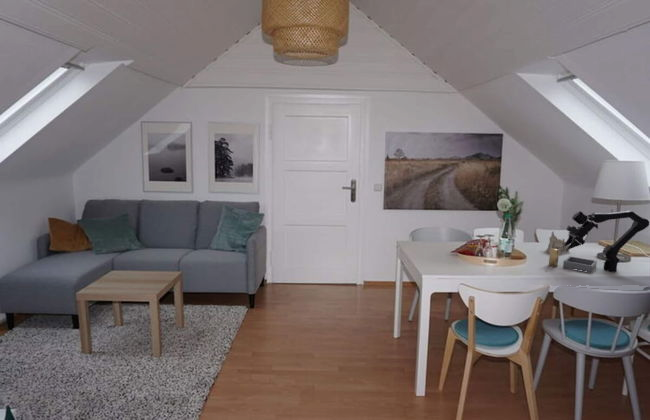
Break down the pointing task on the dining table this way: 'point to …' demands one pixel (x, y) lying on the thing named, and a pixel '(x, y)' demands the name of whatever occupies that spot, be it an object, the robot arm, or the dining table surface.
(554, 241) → the ceramic cottage
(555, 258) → the brass canister
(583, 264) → the charcoal bin
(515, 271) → the dining table surface
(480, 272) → the dining table surface
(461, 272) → the dining table surface
